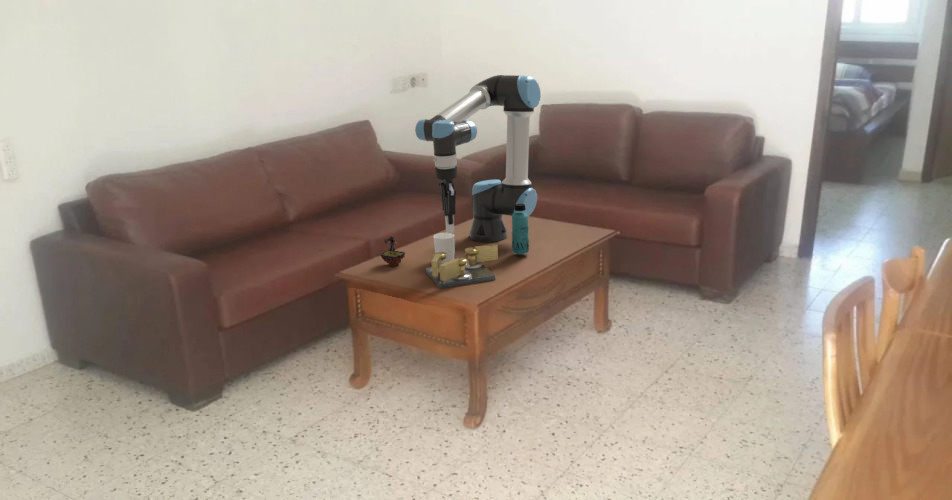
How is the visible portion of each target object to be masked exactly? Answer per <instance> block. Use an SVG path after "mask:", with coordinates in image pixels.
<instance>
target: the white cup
mask: <svg viewBox="0 0 952 500" xmlns="http://www.w3.org/2000/svg"><path fill="white" fill-rule="evenodd" d="M455 236H456V235H455V234H454V233H446V232H439V233H436V234H434V235H433V243H434V246H433V247H434V253H436V252H444V253H446V259H444V260H443V261H444V263H446V262H448V261H451V260H453V259H455V252H456V251H455V250H456V249H455V248H456V245H455V244H456V240H455V238H456V237H455Z"/></svg>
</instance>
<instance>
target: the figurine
mask: <svg viewBox="0 0 952 500" xmlns="http://www.w3.org/2000/svg"><path fill="white" fill-rule="evenodd" d="M389 241H390V243H389V249H388V250H384V251H383V252H382V253H381V254H380V257H381V259H382V260H383V261H384V262H385V263H387V264H388V265H389V266H391V267H395V266H397V265H399V264H401V262H402V260H403V259H404V258H405V255H406V252H405V251H399V250H396V248H395V244H396V246H397V247H400V245H399V244H398V243H397V241H396V240H395V237H394V236H393V234H390V236H389V237H388V238H387V239H384V240H383V242H384V245H385V244H386V245H387V243H388V242H389Z"/></svg>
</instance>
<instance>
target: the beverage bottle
mask: <svg viewBox="0 0 952 500" xmlns="http://www.w3.org/2000/svg"><path fill="white" fill-rule="evenodd" d="M514 209H515V211H524V210H526V208H525V204H522V203H519V204H515V208H514ZM511 223H512V224H511V248H512V249H511V251H512V253H513V254H515V255H525V254H528V253H529V251H530V240H529V238H530V236H529V235H530V234H529V228H530V227H529V216H528V215H527V214H526V213H525V212H516V213H514V214H513V215H512V216H511Z"/></svg>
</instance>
